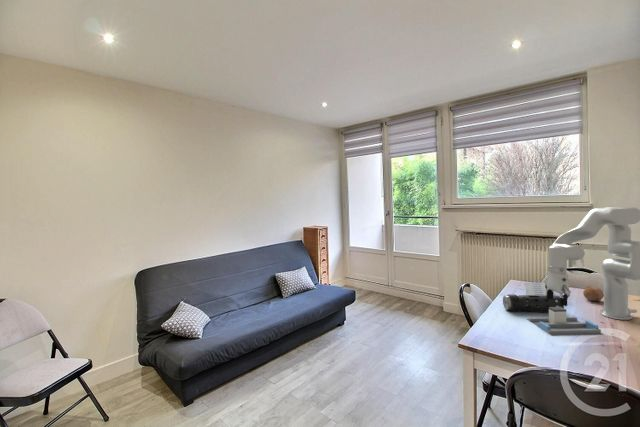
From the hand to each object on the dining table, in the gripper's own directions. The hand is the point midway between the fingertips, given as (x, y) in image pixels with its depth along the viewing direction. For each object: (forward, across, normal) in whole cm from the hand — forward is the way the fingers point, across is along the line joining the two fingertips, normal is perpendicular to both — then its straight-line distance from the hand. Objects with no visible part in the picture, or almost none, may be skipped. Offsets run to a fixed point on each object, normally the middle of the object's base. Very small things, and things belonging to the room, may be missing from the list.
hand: (556, 302), depth 157 cm
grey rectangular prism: (+11, 0, -1) cm, 11 cm away
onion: (+11, +34, -46) cm, 58 cm away
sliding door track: (+12, -3, -1) cm, 13 cm away
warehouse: (+12, +42, -18) cm, 47 cm away
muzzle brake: (+13, +18, +1) cm, 22 cm away
